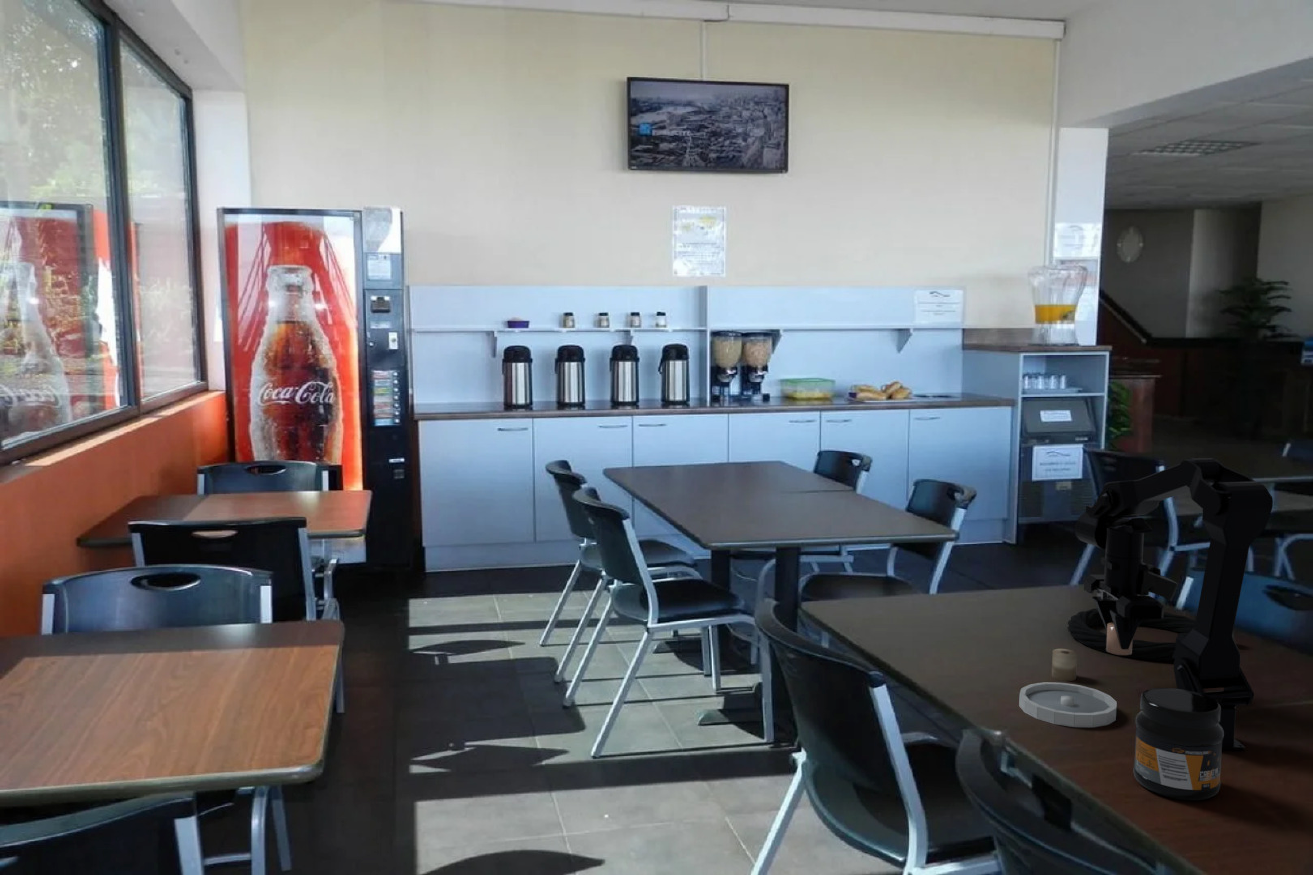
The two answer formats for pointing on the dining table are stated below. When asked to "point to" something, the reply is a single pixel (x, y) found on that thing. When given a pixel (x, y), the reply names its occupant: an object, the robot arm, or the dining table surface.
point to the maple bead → (1064, 664)
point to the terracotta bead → (1115, 642)
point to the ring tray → (1068, 704)
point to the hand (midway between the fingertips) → (1119, 645)
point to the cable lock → (1140, 648)
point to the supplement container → (1178, 744)
